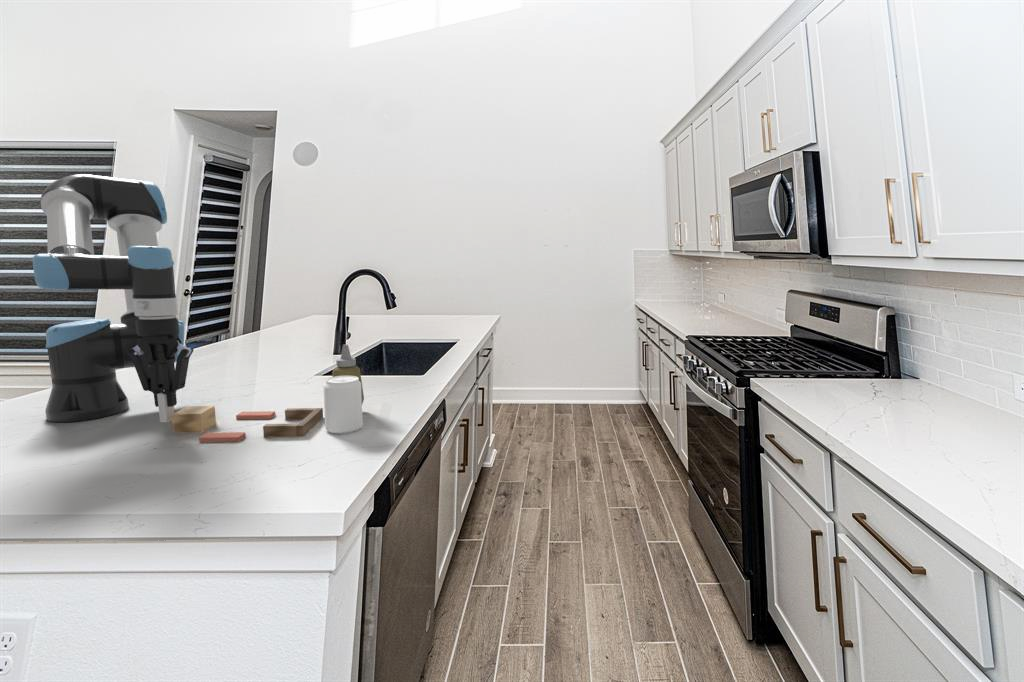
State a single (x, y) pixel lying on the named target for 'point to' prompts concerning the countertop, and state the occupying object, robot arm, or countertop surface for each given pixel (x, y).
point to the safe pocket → (295, 430)
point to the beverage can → (343, 404)
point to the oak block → (193, 419)
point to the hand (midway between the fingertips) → (167, 420)
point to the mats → (236, 435)
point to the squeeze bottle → (347, 367)
